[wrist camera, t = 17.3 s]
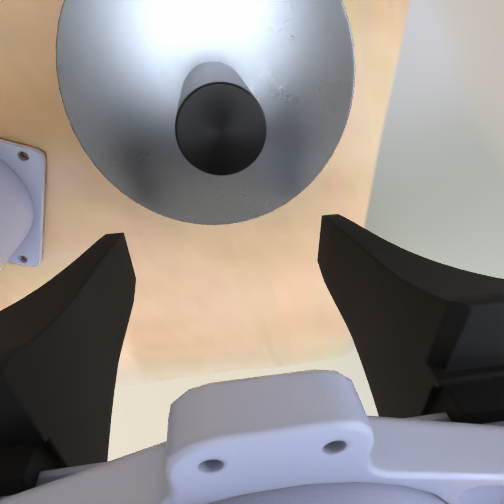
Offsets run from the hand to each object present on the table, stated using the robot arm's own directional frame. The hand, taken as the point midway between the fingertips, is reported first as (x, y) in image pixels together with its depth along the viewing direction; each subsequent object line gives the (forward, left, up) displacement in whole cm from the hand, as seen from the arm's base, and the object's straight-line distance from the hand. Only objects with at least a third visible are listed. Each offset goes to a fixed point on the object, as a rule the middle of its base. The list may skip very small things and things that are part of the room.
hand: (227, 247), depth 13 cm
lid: (-2, +4, -3) cm, 6 cm away
